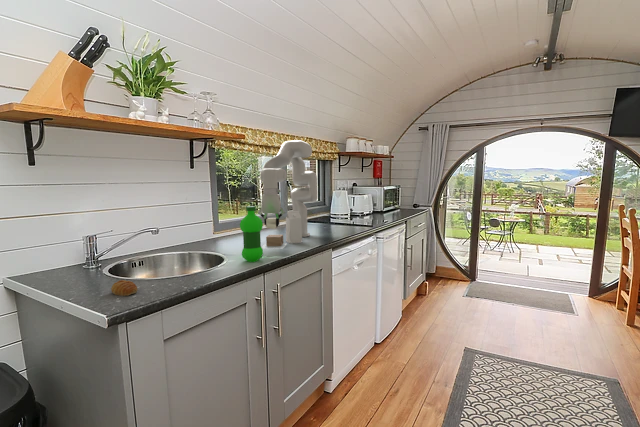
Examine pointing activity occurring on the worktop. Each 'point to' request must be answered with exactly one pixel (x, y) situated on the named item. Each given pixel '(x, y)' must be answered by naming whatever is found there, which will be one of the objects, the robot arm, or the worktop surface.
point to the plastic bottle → (251, 235)
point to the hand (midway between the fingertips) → (272, 225)
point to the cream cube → (271, 223)
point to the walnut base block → (274, 240)
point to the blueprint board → (274, 246)
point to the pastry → (124, 288)
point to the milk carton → (293, 227)
